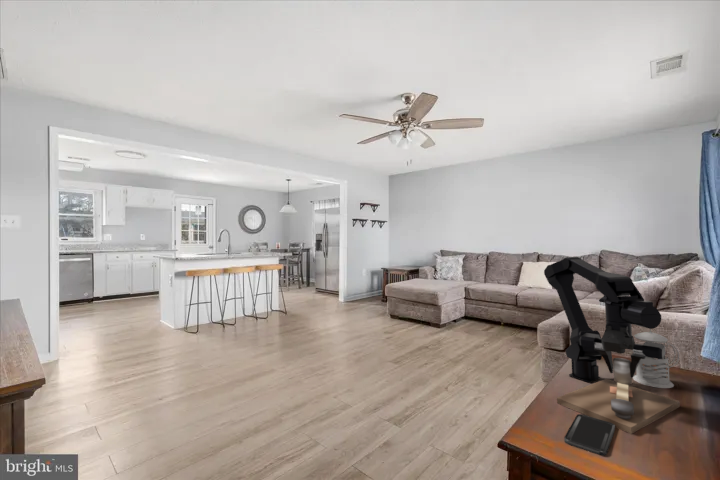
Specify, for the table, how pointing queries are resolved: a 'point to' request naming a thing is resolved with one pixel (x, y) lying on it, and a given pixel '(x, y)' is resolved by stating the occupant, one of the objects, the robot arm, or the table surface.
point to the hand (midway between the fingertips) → (621, 375)
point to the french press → (648, 374)
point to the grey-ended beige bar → (622, 387)
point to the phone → (590, 434)
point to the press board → (601, 393)
